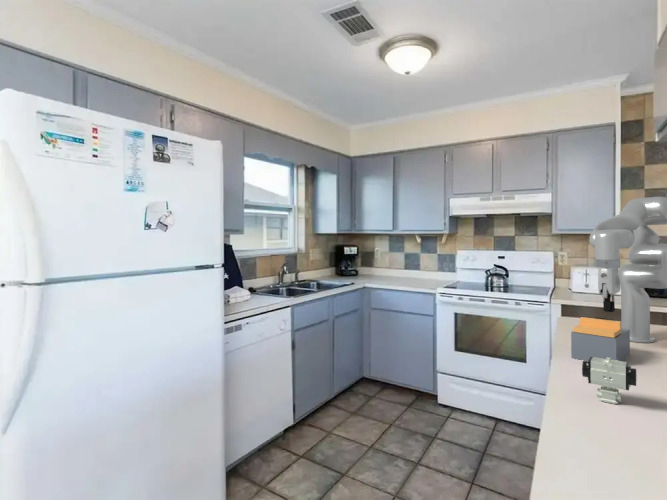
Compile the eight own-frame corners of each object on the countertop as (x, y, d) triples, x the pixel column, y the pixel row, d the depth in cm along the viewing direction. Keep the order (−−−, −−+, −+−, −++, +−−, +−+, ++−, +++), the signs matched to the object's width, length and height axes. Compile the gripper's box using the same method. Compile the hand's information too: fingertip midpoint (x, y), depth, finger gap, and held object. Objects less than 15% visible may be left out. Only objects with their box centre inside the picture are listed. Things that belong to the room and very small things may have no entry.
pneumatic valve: (584, 393, 110) (584, 351, 110) (636, 403, 103) (636, 359, 102) (581, 399, 106) (581, 356, 105) (635, 411, 98) (635, 364, 98)
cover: (581, 327, 146) (581, 316, 146) (621, 332, 137) (621, 321, 136) (573, 331, 140) (573, 320, 140) (614, 337, 131) (614, 326, 131)
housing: (587, 347, 152) (587, 323, 152) (629, 355, 142) (629, 329, 142) (571, 357, 141) (571, 332, 141) (616, 366, 131) (616, 338, 130)
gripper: (613, 266, 139) (615, 316, 140) (625, 261, 148) (626, 308, 149) (589, 265, 144) (591, 314, 145) (602, 261, 154) (603, 306, 155)
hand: (609, 311), depth 147 cm, fingers closed
